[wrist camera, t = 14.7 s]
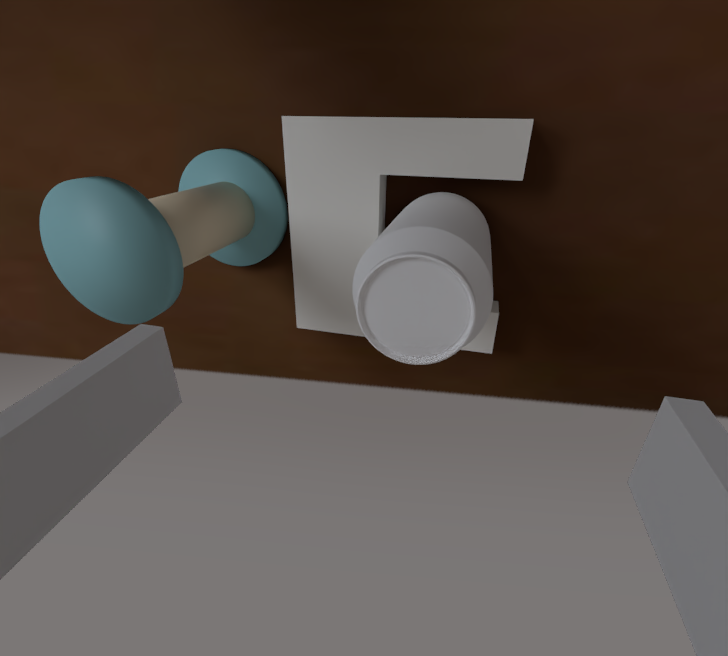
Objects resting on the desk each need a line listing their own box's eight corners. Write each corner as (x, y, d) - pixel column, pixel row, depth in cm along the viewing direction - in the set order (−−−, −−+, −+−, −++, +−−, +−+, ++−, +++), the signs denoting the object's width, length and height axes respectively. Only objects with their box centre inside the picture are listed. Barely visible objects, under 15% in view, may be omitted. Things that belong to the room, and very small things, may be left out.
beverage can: (509, 250, 26) (525, 337, 16) (428, 298, 29) (396, 398, 19) (455, 167, 25) (434, 203, 14) (376, 226, 28) (311, 291, 17)
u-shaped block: (295, 116, 26) (281, 115, 24) (529, 118, 23) (533, 119, 21) (307, 316, 32) (297, 327, 30) (491, 339, 29) (491, 353, 27)
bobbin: (177, 146, 29) (5, 163, 18) (283, 150, 27) (157, 170, 17) (197, 257, 32) (63, 322, 22) (291, 266, 31) (193, 342, 20)
